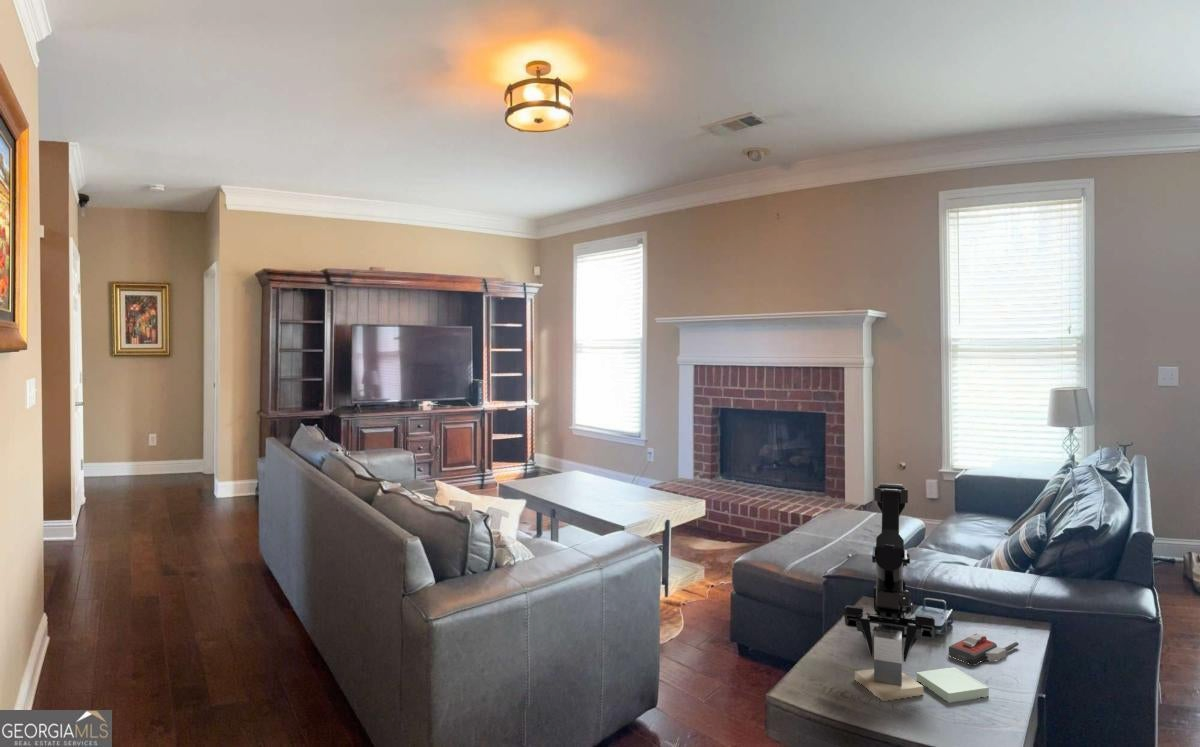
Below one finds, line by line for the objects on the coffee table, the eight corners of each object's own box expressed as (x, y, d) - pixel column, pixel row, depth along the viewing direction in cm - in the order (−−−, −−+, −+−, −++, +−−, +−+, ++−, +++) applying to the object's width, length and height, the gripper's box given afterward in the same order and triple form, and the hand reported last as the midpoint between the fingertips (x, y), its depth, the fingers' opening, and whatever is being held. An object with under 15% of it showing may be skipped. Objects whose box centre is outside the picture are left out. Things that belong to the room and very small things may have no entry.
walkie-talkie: (980, 672, 158) (1021, 650, 170) (981, 653, 158) (1022, 633, 169) (943, 658, 166) (985, 638, 177) (943, 640, 165) (985, 621, 177)
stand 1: (854, 680, 154) (854, 671, 154) (893, 674, 157) (893, 666, 157) (882, 701, 145) (882, 692, 145) (923, 695, 147) (923, 686, 147)
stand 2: (916, 681, 154) (916, 672, 154) (954, 675, 156) (954, 667, 156) (948, 702, 144) (948, 693, 144) (988, 696, 146) (988, 687, 146)
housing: (875, 671, 154) (875, 627, 154) (901, 675, 152) (901, 631, 152) (874, 681, 149) (874, 636, 149) (901, 686, 147) (901, 640, 147)
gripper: (844, 570, 158) (840, 635, 148) (934, 580, 150) (936, 650, 140) (847, 593, 165) (843, 656, 155) (933, 604, 157) (935, 671, 147)
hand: (887, 658), depth 149 cm, fingers open, 6 cm apart
